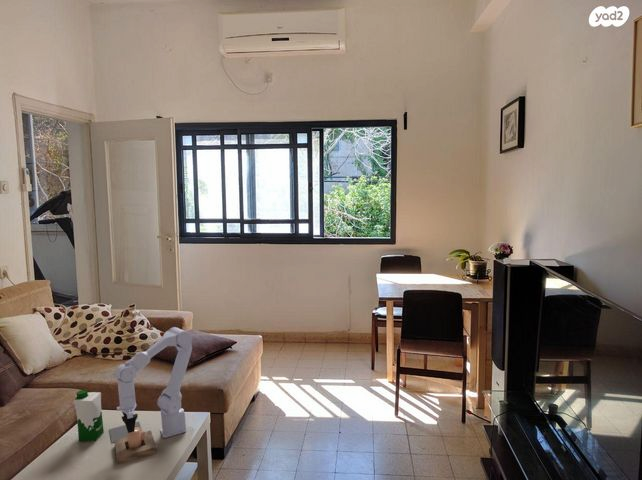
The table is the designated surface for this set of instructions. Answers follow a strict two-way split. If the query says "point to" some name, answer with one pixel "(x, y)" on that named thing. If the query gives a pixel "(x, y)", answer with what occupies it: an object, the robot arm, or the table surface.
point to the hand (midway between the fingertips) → (130, 427)
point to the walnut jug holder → (136, 452)
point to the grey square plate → (120, 432)
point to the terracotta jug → (135, 438)
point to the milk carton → (89, 415)
